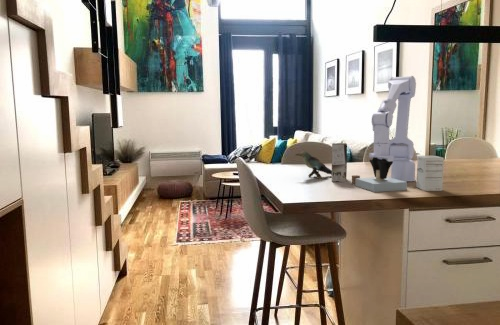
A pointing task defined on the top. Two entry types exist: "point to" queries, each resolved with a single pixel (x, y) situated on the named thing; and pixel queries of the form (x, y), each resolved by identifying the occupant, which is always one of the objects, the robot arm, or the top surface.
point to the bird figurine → (314, 164)
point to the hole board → (381, 184)
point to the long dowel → (378, 176)
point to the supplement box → (430, 173)
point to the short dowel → (354, 178)
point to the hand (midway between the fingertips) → (380, 177)
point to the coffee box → (339, 162)
